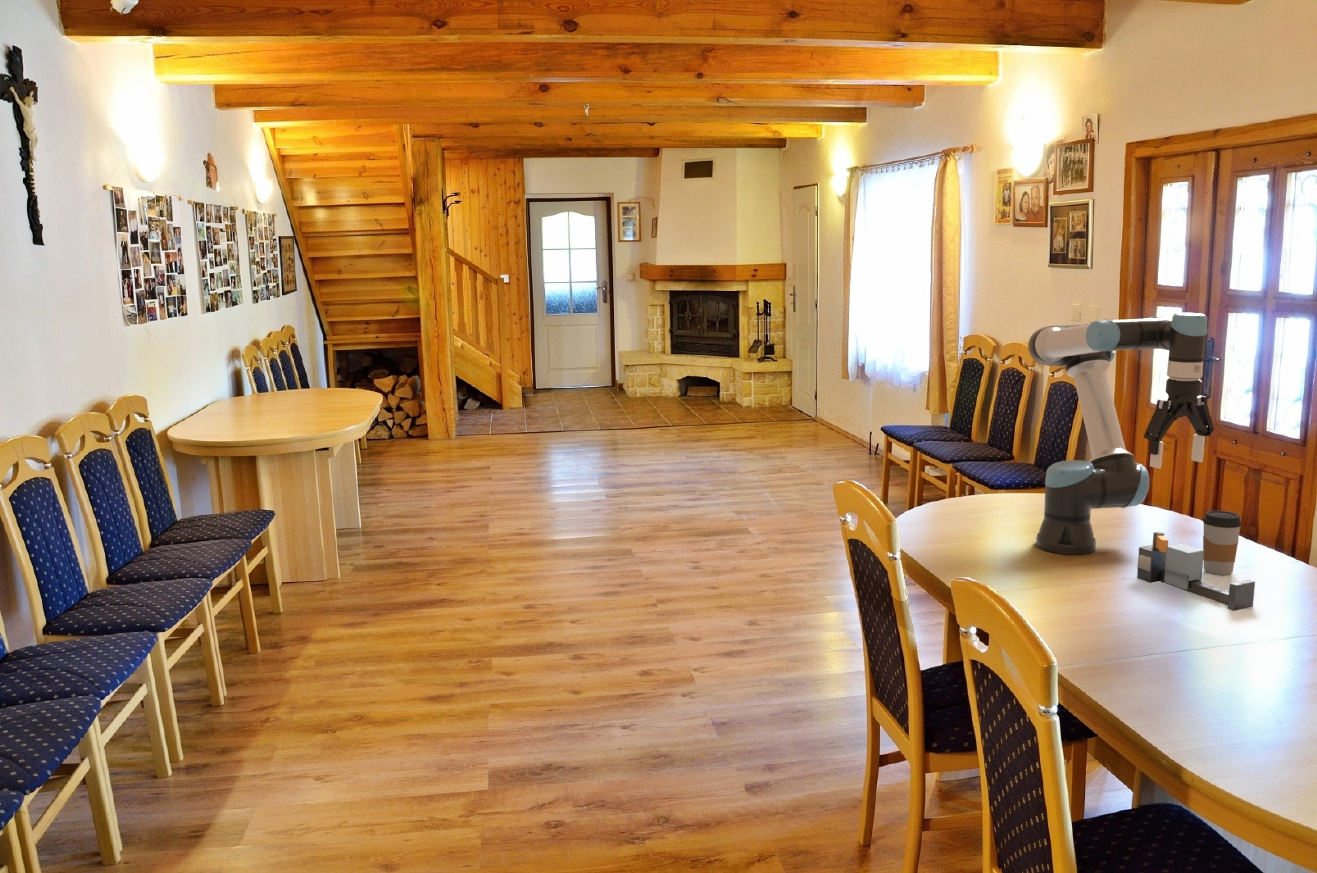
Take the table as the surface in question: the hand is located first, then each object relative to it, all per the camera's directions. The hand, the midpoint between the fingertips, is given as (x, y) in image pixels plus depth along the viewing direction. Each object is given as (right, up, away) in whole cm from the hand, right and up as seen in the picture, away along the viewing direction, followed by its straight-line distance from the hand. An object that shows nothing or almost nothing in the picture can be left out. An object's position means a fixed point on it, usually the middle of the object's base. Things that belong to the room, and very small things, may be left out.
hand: (1176, 464), depth 240 cm
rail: (+1, -30, -9) cm, 31 cm away
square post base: (+5, -32, -18) cm, 37 cm away
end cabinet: (-4, -28, +2) cm, 29 cm away
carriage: (-1, -29, -5) cm, 30 cm away
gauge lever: (-4, -20, -1) cm, 21 cm away
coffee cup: (+13, -27, +5) cm, 31 cm away
